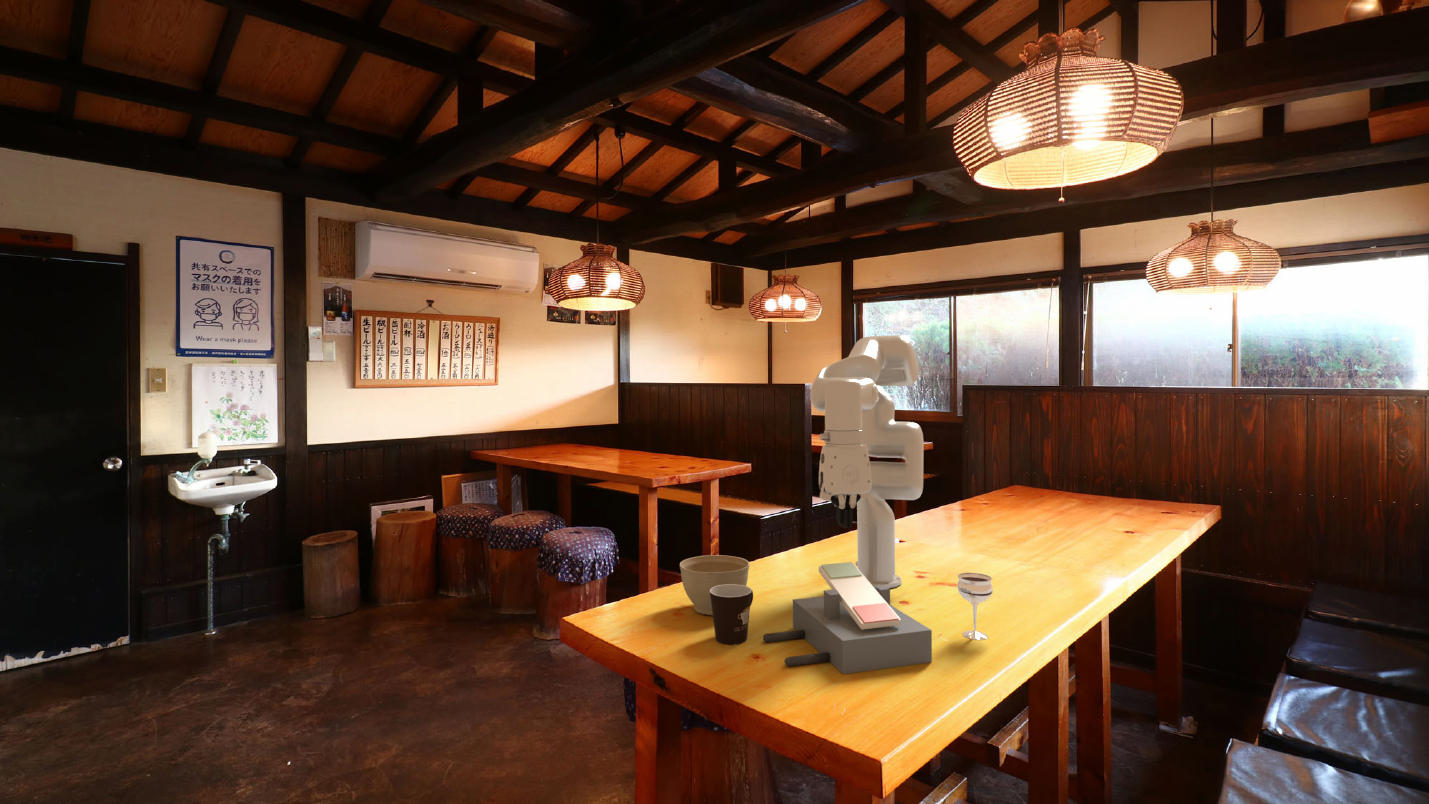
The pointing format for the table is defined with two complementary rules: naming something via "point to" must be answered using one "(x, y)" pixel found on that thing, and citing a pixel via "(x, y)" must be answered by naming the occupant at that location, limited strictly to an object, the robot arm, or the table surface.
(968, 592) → the wineglass
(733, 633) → the coffee mug
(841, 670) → the box
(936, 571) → the table surface
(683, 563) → the planter bowl
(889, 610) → the breaker paddle
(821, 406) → the robot arm
